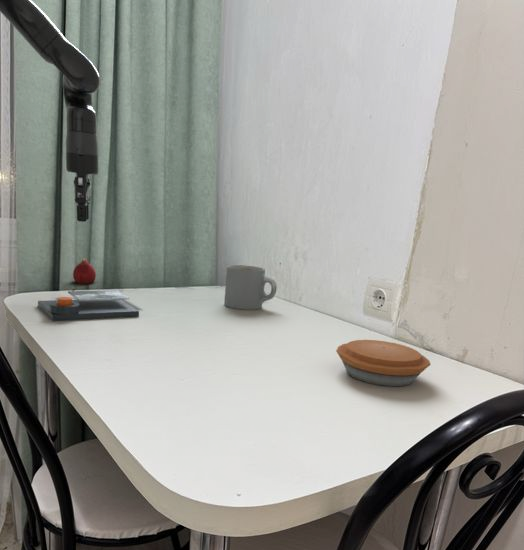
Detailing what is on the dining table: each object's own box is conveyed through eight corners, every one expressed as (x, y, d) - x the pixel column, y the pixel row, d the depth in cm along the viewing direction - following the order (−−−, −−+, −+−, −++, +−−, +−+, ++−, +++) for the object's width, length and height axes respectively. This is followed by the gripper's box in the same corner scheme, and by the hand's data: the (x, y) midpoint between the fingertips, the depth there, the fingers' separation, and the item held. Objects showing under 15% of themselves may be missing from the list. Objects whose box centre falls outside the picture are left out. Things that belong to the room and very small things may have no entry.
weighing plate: (78, 300, 108) (78, 299, 108) (68, 292, 115) (68, 291, 115) (129, 299, 114) (129, 297, 114) (115, 291, 121) (115, 290, 121)
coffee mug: (217, 305, 131) (219, 266, 129) (235, 300, 140) (238, 264, 137) (263, 313, 126) (266, 273, 123) (279, 308, 135) (283, 270, 132)
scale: (53, 322, 101) (52, 307, 100) (37, 306, 112) (37, 293, 111) (139, 317, 111) (139, 304, 110) (117, 304, 122) (117, 291, 121)
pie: (360, 356, 97) (364, 330, 95) (439, 378, 88) (445, 350, 86) (316, 372, 85) (320, 343, 84) (403, 399, 76) (408, 368, 75)
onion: (95, 290, 136) (95, 260, 133) (72, 289, 134) (72, 259, 132) (96, 286, 141) (96, 258, 139) (74, 286, 139) (73, 256, 137)
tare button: (59, 307, 102) (59, 299, 102) (56, 304, 104) (55, 297, 104) (73, 306, 104) (73, 299, 103) (70, 304, 106) (70, 296, 106)
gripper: (68, 153, 130) (70, 217, 135) (62, 149, 117) (64, 220, 122) (99, 156, 132) (99, 220, 137) (96, 152, 119) (97, 223, 124)
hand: (83, 220), depth 129 cm, fingers open, 8 cm apart
